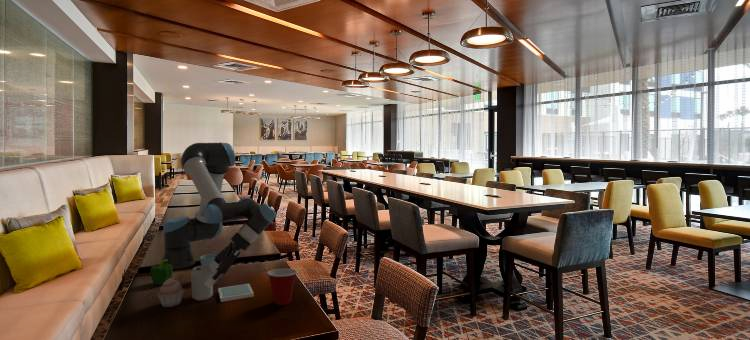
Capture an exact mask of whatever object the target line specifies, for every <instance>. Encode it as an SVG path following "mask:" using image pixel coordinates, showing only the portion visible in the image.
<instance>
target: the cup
mask: <svg viewBox="0 0 750 340" xmlns="http://www.w3.org/2000/svg"><path fill="white" fill-rule="evenodd" d="M218 254H219V253H218ZM218 254H216V253H208V254H203V255H201V256H200V257H199V260H200V264H201V265H200V266H204V265H206V266H209V265H210V264H211V263H212V262H213V261H215V260H214V259H215V256H217V255H218ZM217 268H219V266H218V267H217ZM215 271H216V269H215V270H214V271H213V272H212V274H213V273H214V272H215Z"/></svg>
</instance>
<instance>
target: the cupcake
mask: <svg viewBox="0 0 750 340" xmlns="http://www.w3.org/2000/svg"><path fill="white" fill-rule="evenodd" d="M184 293H185V288H183V286H182V284H181V283H180V281H178V280H174V279H173V278H172V277H171V278H169V279H168V280H166V281H165V282H164V283H163V285H160V288H159V291H157V294H156V296H157V297H158V299H159V301H160V304H161V306H162V307H163V308H173V307H176V306H179V305H181V303H182V300H183V299H182V297H183V294H184Z"/></svg>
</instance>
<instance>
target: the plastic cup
mask: <svg viewBox="0 0 750 340" xmlns="http://www.w3.org/2000/svg"><path fill="white" fill-rule="evenodd" d="M297 273H298V270H296V269H293V268H277V269H276V268H274V269H271V270H268V271H267V275H268V277H269V282H270V286H271V292H272V296H273V300H274V304H275V305H276V306H287V305H290V304H291V303H292V297H293V291H294V284H295V279H296V276H297Z"/></svg>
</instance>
